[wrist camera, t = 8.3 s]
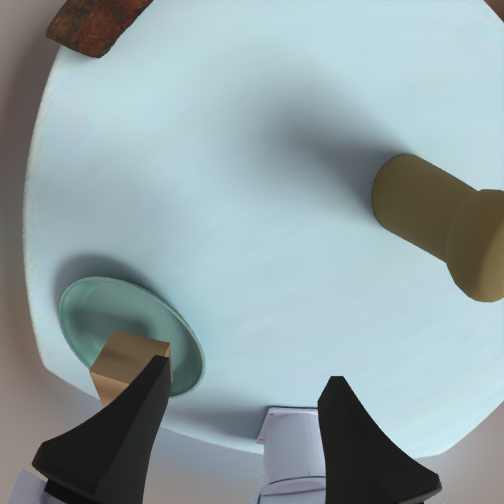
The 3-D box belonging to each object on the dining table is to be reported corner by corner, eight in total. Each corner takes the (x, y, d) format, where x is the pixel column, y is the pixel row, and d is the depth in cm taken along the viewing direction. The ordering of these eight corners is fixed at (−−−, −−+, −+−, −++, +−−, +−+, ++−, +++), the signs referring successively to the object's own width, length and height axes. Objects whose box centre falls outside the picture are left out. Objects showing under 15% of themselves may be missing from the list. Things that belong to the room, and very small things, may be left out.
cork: (376, 147, 16) (494, 177, 6) (444, 162, 16) (557, 205, 6) (365, 231, 19) (447, 329, 9) (430, 237, 18) (519, 317, 8)
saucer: (52, 262, 21) (36, 275, 19) (196, 259, 20) (188, 276, 18) (100, 372, 27) (92, 388, 25) (219, 386, 26) (216, 406, 24)
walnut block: (172, 380, 22) (159, 424, 18) (123, 368, 22) (104, 407, 18) (170, 342, 20) (152, 390, 16) (114, 329, 20) (88, 371, 16)
